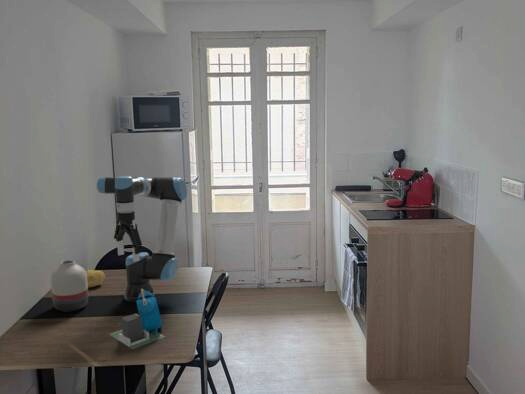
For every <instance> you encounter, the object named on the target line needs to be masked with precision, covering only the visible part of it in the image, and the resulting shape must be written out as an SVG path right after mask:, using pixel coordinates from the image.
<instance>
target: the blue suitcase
mask: <svg viewBox="0 0 525 394" xmlns="http://www.w3.org/2000/svg"><path fill="white" fill-rule="evenodd" d="M136 307H137V311H138V315H139V316H141V317H142V328H143V330H144V329H145V331H147V332H149V331H152V330H154V331H156V335H157V334H158V333H159V332H158V329H160V328H162V327H163V322H162V318H161V317H162V316H161V313H160V308H159V304H158V301H157V297H155V296H154V297H153V296H152V294H151V293H150V292H149V291H145V290H143V289H141V293H140V294H139V296H138V300H137V302H136Z"/></svg>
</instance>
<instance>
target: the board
mask: <svg viewBox="0 0 525 394" xmlns="http://www.w3.org/2000/svg"><path fill="white" fill-rule="evenodd" d="M120 333H121V334H123V331H122V329H119V330H117V331H114V332H110V333H109V334H108V335H109V336H111V337H112V338H114V339H115V340H117V341H118V342H120V343H122V342H121V341H119V334H120ZM164 338H166V336H165V335H164V334H162V333H160V332H158V334H157V335H156V330H152V331H149V339H148V340H146V341H143V342H140V343H138V344H135V345H132V346H127V345H126V344H124V343H122V344H123V345H125V346H127V347H128V348H130V349H131V350H134V349H136V348H137V349H138V348H140V347H142V346H144V345H147V344H150V343H153V342H156V341H159V340H161V339H164ZM143 339H144V337H143Z"/></svg>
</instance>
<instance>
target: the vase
mask: <svg viewBox="0 0 525 394" xmlns="http://www.w3.org/2000/svg"><path fill="white" fill-rule="evenodd" d="M86 271H87V270H85V268H84V267H82V266H81V265H79V264H77V263H76V262H75V260H72V259H67V260H62V261H60V264H59V266H57V267H56V268H55V269H54V270H53V271H52V273H51V276H50V288H51V300H52V305H53V307H54V308H55V309H56V310H57V311H59V312H63V313H64V312H66V313H67V312H75V311H79V310H80V309H83V308H84V307H86V305H87V304H88V302H89V288H88V283H87V274H86Z"/></svg>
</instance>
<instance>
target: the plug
mask: <svg viewBox="0 0 525 394" xmlns="http://www.w3.org/2000/svg"><path fill="white" fill-rule="evenodd" d="M121 327H122V328H121V330H122V331H123V335H124V336H126V337H127V338H129V339H130V343H133V342H135V341H138V340H141V339H143V328H142V317H141V316H139V313H133V314H129V315H126V316H123V317H121Z"/></svg>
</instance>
